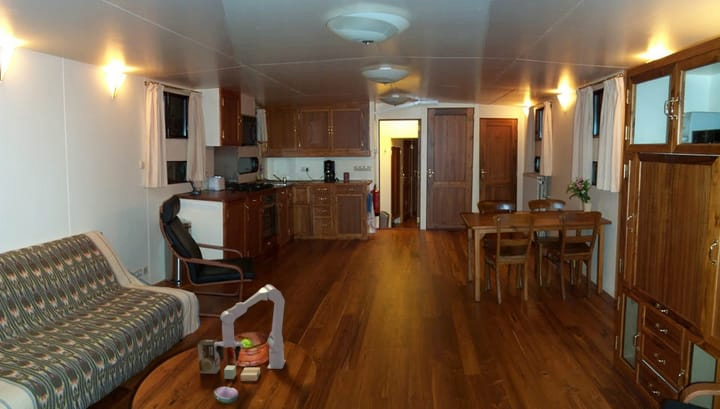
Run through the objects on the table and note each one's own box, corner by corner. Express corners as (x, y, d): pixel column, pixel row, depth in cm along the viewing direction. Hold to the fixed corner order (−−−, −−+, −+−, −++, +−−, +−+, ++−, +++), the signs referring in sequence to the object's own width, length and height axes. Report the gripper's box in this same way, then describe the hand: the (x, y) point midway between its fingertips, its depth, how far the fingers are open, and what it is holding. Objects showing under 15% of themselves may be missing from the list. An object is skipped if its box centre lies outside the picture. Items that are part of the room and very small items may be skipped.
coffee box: (220, 368, 266) (218, 339, 264) (216, 374, 260) (214, 344, 258) (204, 367, 267) (202, 339, 265) (199, 373, 261) (197, 344, 259)
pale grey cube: (227, 374, 259) (227, 365, 259) (236, 374, 259) (235, 365, 258) (224, 378, 255) (224, 369, 254) (233, 379, 255) (233, 369, 254)
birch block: (245, 373, 261) (244, 367, 260) (260, 373, 260) (259, 367, 260) (240, 381, 253) (240, 374, 252) (256, 381, 252) (256, 374, 252)
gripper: (211, 337, 250) (213, 363, 252) (240, 338, 249) (241, 363, 251) (216, 332, 257) (217, 357, 259) (244, 332, 256) (245, 357, 258)
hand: (229, 360), depth 256 cm, fingers open, 7 cm apart
